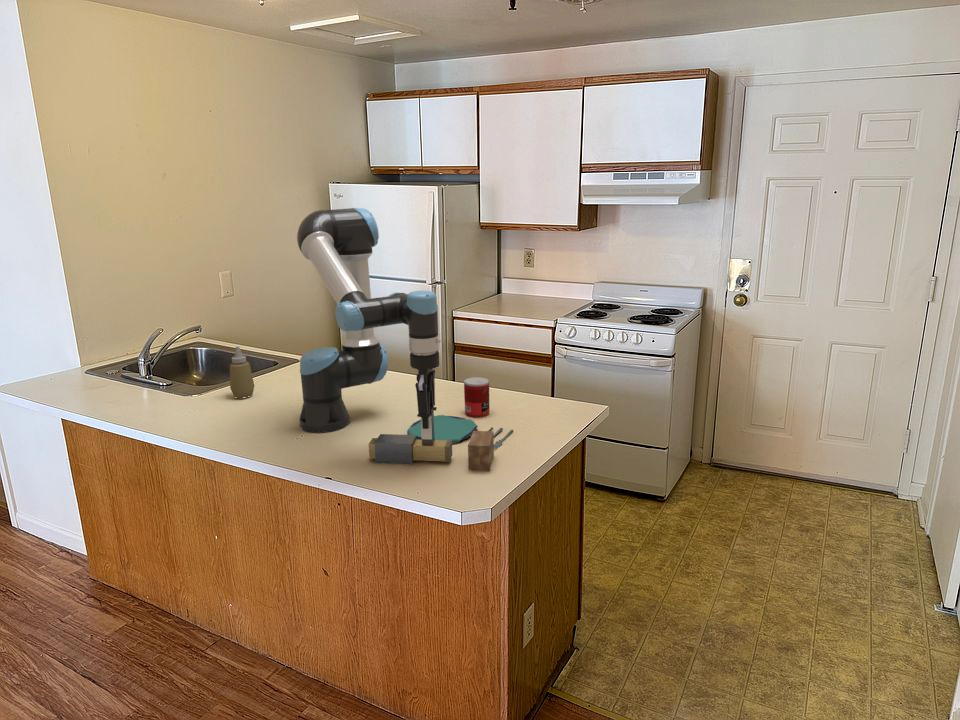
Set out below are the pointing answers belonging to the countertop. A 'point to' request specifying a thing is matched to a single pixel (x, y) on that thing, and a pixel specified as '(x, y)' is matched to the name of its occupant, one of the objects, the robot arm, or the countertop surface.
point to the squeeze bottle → (241, 376)
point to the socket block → (481, 450)
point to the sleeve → (394, 449)
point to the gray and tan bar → (425, 447)
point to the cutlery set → (452, 429)
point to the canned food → (476, 396)
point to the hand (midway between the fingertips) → (428, 436)
